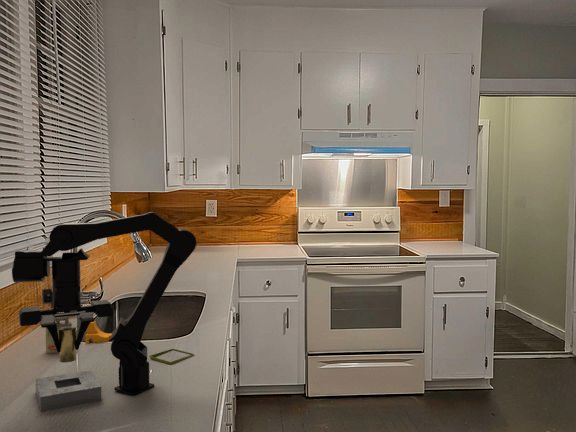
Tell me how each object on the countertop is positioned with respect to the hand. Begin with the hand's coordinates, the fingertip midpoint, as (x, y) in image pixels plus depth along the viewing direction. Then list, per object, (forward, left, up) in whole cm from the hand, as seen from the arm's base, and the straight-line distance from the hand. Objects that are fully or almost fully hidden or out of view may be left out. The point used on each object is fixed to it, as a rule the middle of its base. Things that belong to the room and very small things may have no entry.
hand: (67, 350), depth 116 cm
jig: (0, 0, -10) cm, 10 cm away
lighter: (+30, -20, -10) cm, 38 cm away
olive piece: (-3, -30, -11) cm, 32 cm away
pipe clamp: (+25, -33, -11) cm, 43 cm away
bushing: (0, 0, -2) cm, 2 cm away
